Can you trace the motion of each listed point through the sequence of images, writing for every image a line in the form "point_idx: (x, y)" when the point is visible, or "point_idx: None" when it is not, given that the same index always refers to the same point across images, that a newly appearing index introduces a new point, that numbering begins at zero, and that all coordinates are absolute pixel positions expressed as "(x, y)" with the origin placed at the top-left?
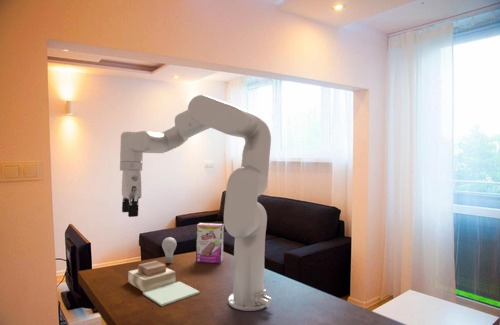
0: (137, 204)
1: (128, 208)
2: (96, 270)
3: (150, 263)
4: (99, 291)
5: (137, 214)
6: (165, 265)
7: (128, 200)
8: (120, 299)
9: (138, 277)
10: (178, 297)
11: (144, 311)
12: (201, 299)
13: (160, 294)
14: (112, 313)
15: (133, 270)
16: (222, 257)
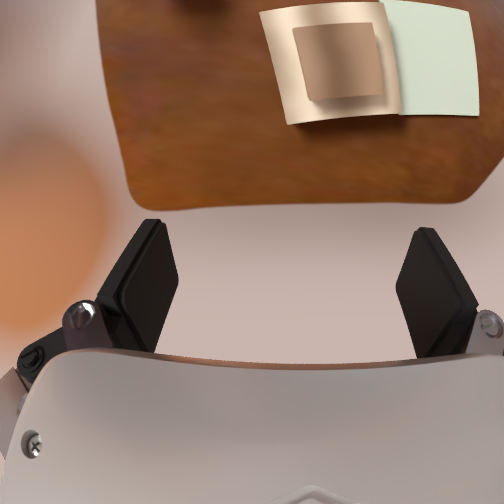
0: (494, 323)
1: (417, 342)
2: (140, 179)
3: (321, 58)
4: (311, 194)
5: (436, 239)
6: (371, 24)
7: (123, 334)
8: (392, 167)
9: (363, 115)
10: (473, 68)
11: (472, 152)
12: (492, 34)
13: (437, 88)
14: (439, 201)
15: (290, 108)
16: None
